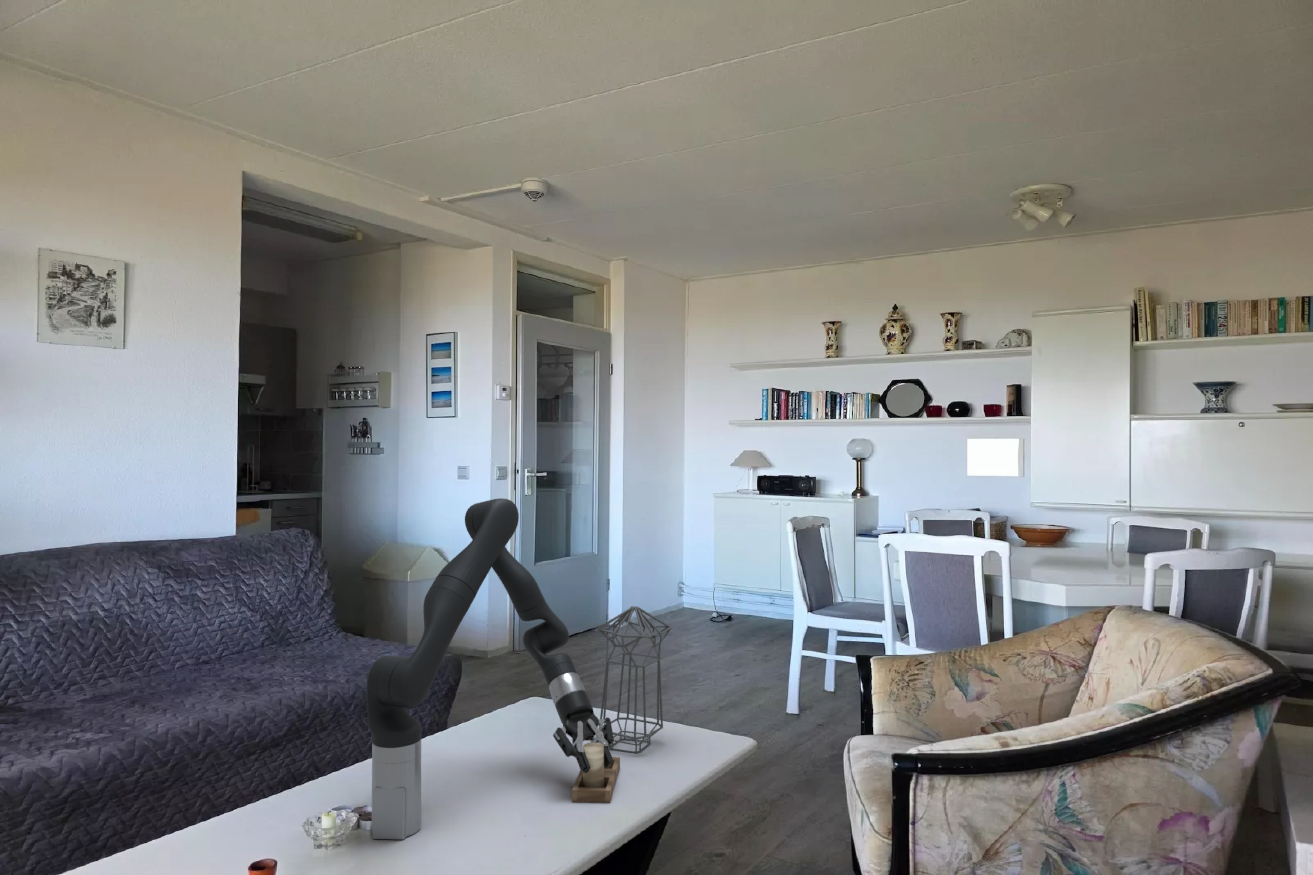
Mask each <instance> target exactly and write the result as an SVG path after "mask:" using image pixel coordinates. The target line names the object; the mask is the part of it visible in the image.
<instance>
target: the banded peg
mask: <svg viewBox="0 0 1313 875" xmlns="http://www.w3.org/2000/svg"><path fill="white" fill-rule="evenodd" d="M582 752H585V755H586V757H587V760H588V762H589V765H590V770H589V771H588V772H587V773H584V772H583V787H587V788H604V745H603V744H601V743H596V742H593V743H591V742H587V743H585V744H583V751H582Z"/></svg>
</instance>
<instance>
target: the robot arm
mask: <svg viewBox="0 0 1313 875" xmlns="http://www.w3.org/2000/svg"><path fill="white" fill-rule="evenodd" d="M519 513H520V512H519V510H518V507H517V505H516V504H515V503H514V502H513V501H512V500H510V499H508V498H493V499H488V500H485V501H480V502H477V503H473V504H472V505H470V506H469V507H468V509H467V510H466V511H465V515H464V525H465V528H466V532H468V535H469V537H470V538H471V542H470V543H468V545H467V546H466V547H464V548H463V549H462V550H461V551H460V552H459V553H458V554H457V555H455V557H453V558H452V559H451V560H450V561H449V562H447V563H446V565H444V567H443V568H442V569H441V570H440V571H439V573H438V574H437V576H436V577H435V579H434V580H433V582H432V584H431V586H430V587H429V589H428V590H427V593H426V595H425V597H424V600H423V608H422V609H423V610H422V611H423V612H422V613H423V627H424V628H423V633H422V637H421V638H420V641H419V643H418V645H417V647H416V649H415V650H414V651H413V654H411V656H409V657H405V656H396V655H383V656H380V657H379V658H377V659H376V660H375V661H374V662H373V664H372V665H371V667H370V669H369V671H368V675H367V679H366V706H367V724H368V728H369V732H370V734H371V740H372V741H371V745H372V746H371V749H372V750H371V754H372V755H371V834H372V836H371V838H372V840H374V839H375V840H405V839H406V838H407V837H409V836H412V835H414V834H416V833H417V832H419V831H420V829H421V828H422V733H423V732H422V730H423V729H422V725H421V723H420V721H418V720H417V719H416V718H414V717H413V716H412V715H411V714H410V713H409V712H408V711H407V710H406V709H410V708H415V707H417V706H419V705H420V704H421V703H422V702H423V701H424V699H425V698H426V697H427V695H428V693H429V692H430V690H431V688H432V686H433V683H434V680H435V678H436V676H437V673H438V672H439V669H440V666H441V664H442V663H443V662H442V661H443V659H444V657H445V655H446V652H447V651H448V648H449V646H450V644H451V642H452V640H453V638H454V637H455V634H456V632H457V630H458V628H459V626H460V625H461V623H462V621H463V619H464V618H465V616H466V615H467V612H468V611H469V610H470V608H471V606H472V604H473V602H474V600H475V599H476V596H477V594H478V592H479V590H480V588H481V586H482V585H483V582H484V581H485V579H486V577H487V575H488V574H489V573H490V570H491V569H492V570H493V572H494V573H495V574H496V575H497V577H498V579H499V581H500V582H501V584H502V585H503V587H504V589H505V591H506V592H507V595H508V597H509V599H510V601H511V603H512V605H513V607H514V609H515V611H516V613H517V616H518V617H519V619H520V620H521V621H522V622H531V621H536V620H543V622H541V623H538V624H537V625H535V626H533V627H531V628H528V629H527V630H526V631H525V632H524V634H523V637H522V642H523V646H524V648H525V649H526V651H527V652H528V654H529V655H530V657H532V658H533V660H534V661H535V662H536V664H537V665H538V666H539V668H540V669H541V671H542V673H543V676H544V678H545V681H546V682H547V686H548V688H549V692H550V696H551V699H552V703H553V704H554V706H555V707H554V708H555V709H556V713H557V715H558V717H559V719H560V720H559V721H560V723H561V724H562V727H557V728H556V729H555V731H554V733H553V735H552V737H553V739H555V741H556V743H557V744H558V746H559V748H560V749H561V751H562V752H563V754H564V755H565V756H566V757H568V758H569V757H574V758H575V759H576V762H577V765H578V766H579V770H582V771H583V772H584V773H587V772H588V771H589V770H590V765H589V762H588V760H587V757H586V755H585V752H583V746H584V744H583V743H584V742H585V741H589V743H593V742H596V743H601V744H603V745H604V765H605V767H606V768H607V767H610V765H611V764H612V761H613V758H612V757H613V755H612V754H611V750H610V749H609V747H610V745H612V743H613V744H614V740H615V739H614V737H613V736H614V735H613V728H612V724H611V721H612V720H611V719H610V717H605V720H603V718H602V719H600V718H598V717H597V716H596V715H595V713H594V708H593V705H592V703H591V701H590V698H589V695H588V693H587V691H586V688H585V686H584V683H583V681H582V680H581V679H580V676H579V674H578V673H577V670H576V668H575V665H574V662H573V660H572V658H571V657H570V655H569V654H568V653H565V652H564V653H563V652H560V653H555V654H550V653H551V652H553V651H556V650H558V649H559V648H561V647H564V646H565V645H566V644H568V642H569V637H570V633H569V630H568V627H567V626H566V625H565V624H564V622H563V621H562V620H561V619H560V618H559V617H558V616H557V614H556V613H554V611H553V610H552V608H550V606H549V605H548V603H547V601H546V599H545V597H544V595H543V593H542V590H541V588H540V587H539V584H538V582H537V581H536V579H535V577H534V576H533V575H532V573H530V571H529V570H528V569H527V568H526V567H525V566H524V565H523V564H521V563H520V562H519V561H518V560H517V559H516V557H514V556H513V555H512V554H511V553H510V551H509V550H508V549H507V546H506V545H507V544H508V543H509V541H511V538H512V537H513V535H514V534H515V532H516V530H517V528H518V525H519V520H520V514H519ZM549 654H550V655H549ZM599 726H600V728H601V729H600V730H602V731H603V733H602V732H601V731H600V730H599ZM567 735H568V736H569V737H570V738H571V740H570V739H569V738H568V736H567Z"/></svg>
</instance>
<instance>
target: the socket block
mask: <svg viewBox="0 0 1313 875" xmlns="http://www.w3.org/2000/svg"><path fill="white" fill-rule="evenodd" d="M612 758H613V761H612V764H611V765H610V767H607V768H606V767H605V765H604V788H587V787H583V771H582V770H581V769H579V772H578V775H577V778H576V779H575V782H574V784H573V787H572V789H571V797H572V798H571V802H572V803H594V804H595V803H601V804H602V803H605V804H606V803H607V804H608V803H609V804H611V801H612V797H613V794H614V790H615V787H616V784H617V780H618V776H619V774H620V769H621V756H620V757H617V756H612Z"/></svg>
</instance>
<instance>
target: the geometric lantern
mask: <svg viewBox="0 0 1313 875" xmlns="http://www.w3.org/2000/svg"><path fill="white" fill-rule="evenodd" d="M634 612H635V615H636V618H637V621H638V622H635V621H631V619H632V615H633V613H634ZM647 616H648V617H650V618H652V619H653V620H655V621H657V622H658V623H660V624H662V625H660V624H659V625H654V623H653V622H652V621H651V620H650V619H649V618H648V617H647ZM612 622H613V623H612ZM624 623H626V624H625V627H624V630H623V633H622V634H621V633H619V630H620V628H621V627H622V625H623V624H624ZM634 625H635V626H639V629H640V630H639V629H638V628H636V627H635V626H634ZM606 626H607V627H606ZM629 626H630V627H631V628H632V629H633V630H634V631H636V632H637V633H638V635H634V634H633V635H632V634H631V635H630V634H628V635H627V630H628V627H629ZM611 628H612V630H610V629H611ZM659 628H663V629H661V630H659ZM672 629H673V627H672V626H671V625H670V624H667V623H666V622H664V621H662V620H661V619H659V618H657V617H656V616H654V615H652V614H651V613H649V612H647V611H646V610H644V609H642V608H641V607H639V606H630V607H629V608H628V609H626V610H624V611H623V612H621V613H619V614H617V615H616V616H615V617H612V618H611V619H610V620H608V621H606V622H605V623H603V624H601V625H599V626H598V627H596V628H594V631H595V632H596V633H598V632H599V633H600V634H601V635H603V637H605V639H606V645H605V647H606V648H605V661H606V662H605V672H604V680H603V690H602V698H601V705H600V717H599V719H603V720H605V719H606V718H607V717H606V716H607V715H606V713H607V699H608V698H607V697H608V680H609V668H610V666H609V665H610V664H613V665H614V664H615V665H620V666H621V670H620V671H621V672H620V682H619V692H618V704H617V714H616V718H614V719H613V720H611V725H612V724H613V723H615V722H616V723H617V724H618V727H619V730H620V731H619V732H613V731H612V732H613V737H614V738H616V737H619V738H618V740H616V739H614V741H613V743H612V744H611V745H610V747H609V750H610V751H619V752H624V753H632V754H639V753H641V752H643V750H645V749H646V748H648V747H649V746H650V745H651V741H652V740H651V737H653V736H654V735H656V733H658V732H659V731H660V730H662V729H663V730H664V719H663V718H664V716H663V713H664V712H663V697H662V696H663V695H662V677H661V675H662V673H661V644H662V642H663V641H664V639H665V638H666V637H667V636H668V634H669V633H670V632H671V630H672ZM645 630H646V632H647V634H648V635H646V634H645ZM655 631H656V632H657V633H654V632H655ZM650 633H651V634H650ZM609 634H612V635H611V636H609ZM617 637H621V642H620V641H619V639H618V638H617ZM658 637H659V641H658V642H657V641H656V640H657V639H656V638H658ZM624 638H629V639H630V638H635V639H633V640H631V641H629V642H628V643H624V642H625V641H624ZM641 639H650V641H651V642H650V643H651V644H652V646H651V648H650V650H649V651H648V653H647V654H642V653H641V654H640V653H635V652H633V650H634V649H635V648H636V646H637V645H638V643H639V642H640V640H641ZM615 640H616V641H617V643H618V644H617V643H616V642H615ZM609 642H610V643H612V647H613V649H612V650H611V653H610V654H609ZM656 642H657V643H656ZM621 643H622V644H621ZM632 644H633V646H632V648H631V649H630V650H629V649H628V646H631V645H632ZM657 647H658V651H657ZM616 648H621V650H622V651H623V652H620V653H618V654H616V655H613V653H614V651H615V650H616ZM653 648H654V651H655V654H656V656H654V655H650V654H651V651H652V650H653ZM612 655H613V656H612ZM626 655H627V656H629V660H628V661H629V663H627V664H626V663H625V658H626V657H625V656H626ZM632 655H633V656H641V657H645V658H644V661H643V662H642V664H637V663H636V662H635V660H634V658H633V656H632ZM618 656H622V659H621V662H616V661H610V660H611V659H613V658H616V657H618ZM648 658H654V659H656V660H654V661H650V662H648V663H647V664H645V663H646V661H647V659H648ZM654 663H655V664H656V663H657V665H656V666H657V667H656V668H657V672H656V673H657V678H656V679H657V681H656V682H657V684H656V685H657V686H656V688H657V689H656V690H657V691H656V692H657V693H656V699H657V700H656V721H649V720H647V715H646V714H647V711H646V710H647V706H646V670H645V669H646V667H648V666H650V665H652V664H654ZM625 667H628V680H627V681H628V682H627V683H628V686H627V702H626V716H625V717H622V716H621V717H620V712H621V711H620V710H621V703H622V691H623V679H624V668H625ZM632 668H635V670H634V671H635V672H634V674H635V675H634V709H633V710H634V711H633V712H634V713H633V714H634V715H633V716H634V717H633V718H632V717H630V697H631V679H632V677H631V674H632ZM638 668H642V696H643V697H642V699H643V700H642V702H643V703H642V704H643V708H642V709H643V719H640V718H637V716H638V715H637V713H638V712H637V709H638V704H637V703H638ZM619 720H621V721H623V720H625V723H624V730H623V729H622V726H621V724H620V721H619ZM628 720H629V721H633V731H629V730H627V725H628V724H627V723H628ZM637 722H639V723H643V733H641V732H638V731H637ZM647 724H650V725H654V726H653V728H652V729H651V730H650V732H649V733H647ZM657 726H659V727H658V728H657ZM656 728H657V729H656ZM598 729H599V730H600V729H601V728H600V726H599V725H598ZM600 731H601V733H602V734H603V731H602V730H600ZM622 733H623V734H622ZM627 733H628V734H633V736H632V735H626V734H627ZM637 735H640V736H637ZM625 740H626V741H625ZM631 740H632V742H634V743H632V742H627V741H631ZM639 741H640V742H639ZM637 742H639V743H637ZM646 742H647V744H646V745H645V746H643V747H642V744H644V743H646ZM617 743H621V744H624V745H625V744H626V745H630V746H631V745H632V746H635V748H634V749H635V751H633V750H627V749H626V750H625V749H621V748H620V749H619V748H614V746H615V745H617ZM649 744H650V745H649ZM638 746H639V749H638Z"/></svg>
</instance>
